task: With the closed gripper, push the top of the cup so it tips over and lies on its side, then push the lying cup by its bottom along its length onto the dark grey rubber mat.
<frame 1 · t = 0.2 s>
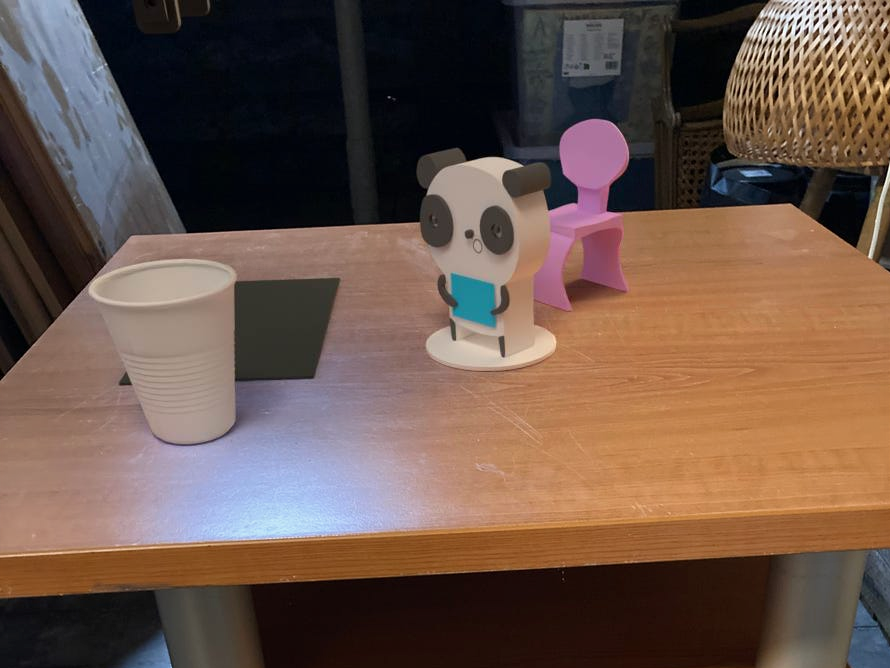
hand: (177, 24, 57), 26 cm above the table, tool pointing down, fingers open, 8 cm apart
toy chair: (574, 296, 97), on the table
mat: (242, 326, 92), on the table
cup: (195, 431, 75), on the table
panda figurine: (488, 347, 87), on the table
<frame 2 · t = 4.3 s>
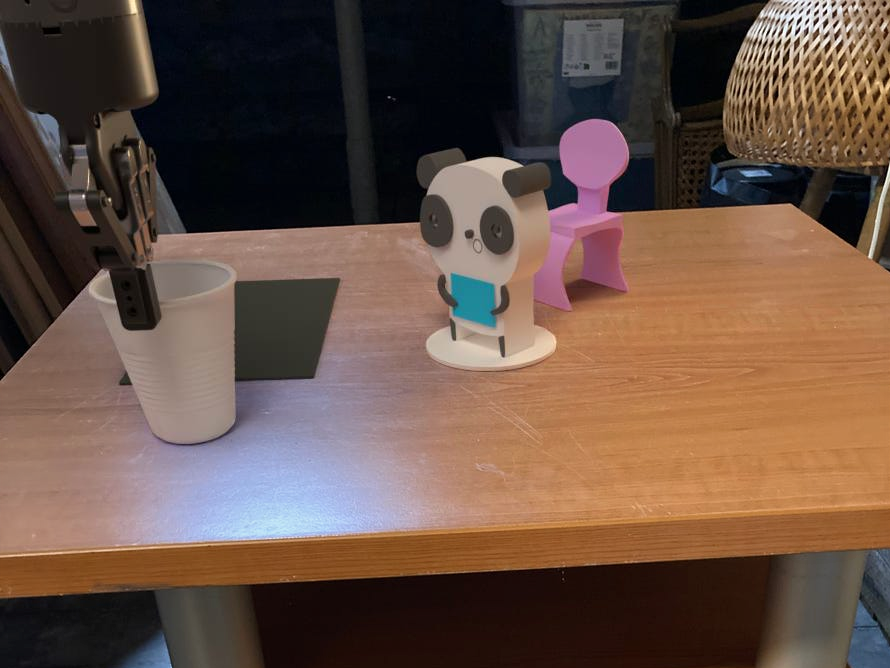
hand: (143, 326, 64), 10 cm above the table, tool pointing down, fingers closed
cup: (195, 430, 75), on the table, touching gripper
everything else where it was.
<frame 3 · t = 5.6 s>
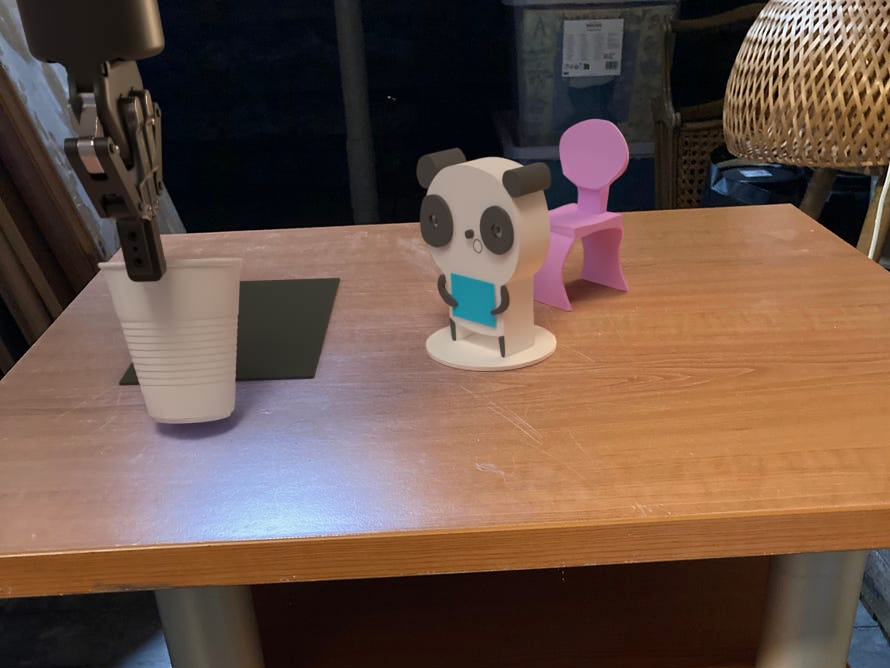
hand: (148, 278, 65), 12 cm above the table, tool pointing down, fingers closed
cup: (193, 420, 74), point 1 cm above the table
everything else where it was.
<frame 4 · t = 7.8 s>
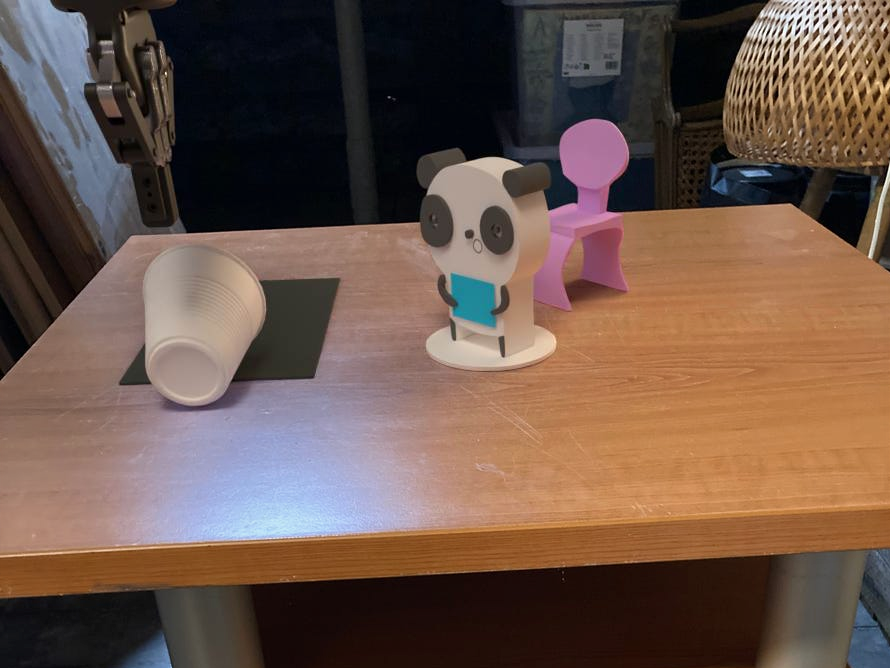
hand: (161, 224, 68), 14 cm above the table, tool pointing down, fingers closed
cup: (186, 376, 75), point 3 cm above the table, touching mat
everything else where it was.
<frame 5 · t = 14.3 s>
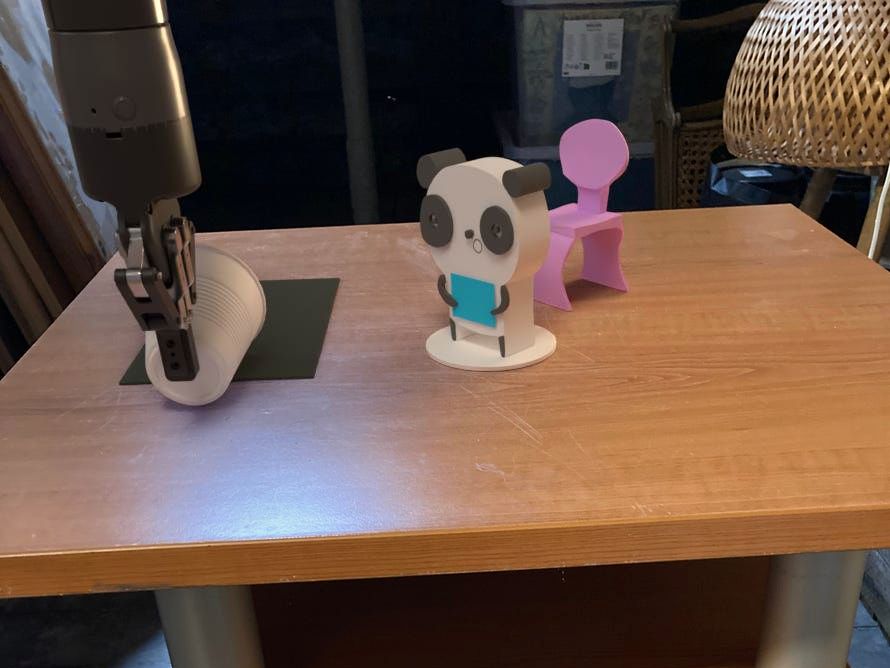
hand: (183, 377, 72), 4 cm above the table, tool pointing down, fingers closed
cup: (186, 375, 75), point 3 cm above the table, touching gripper
everything else where it was.
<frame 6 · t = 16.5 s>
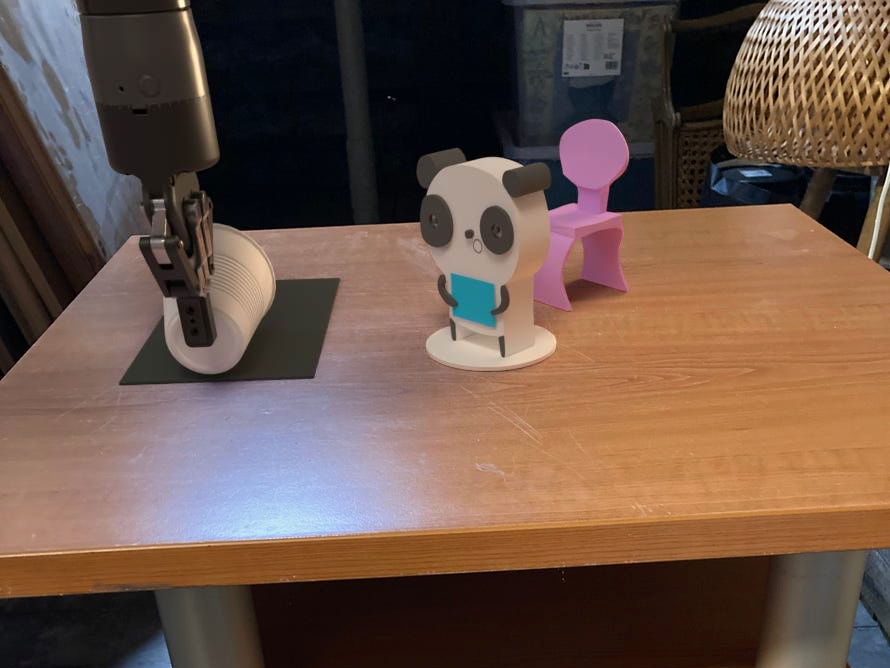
hand: (202, 343, 77), 4 cm above the table, tool pointing down, fingers closed
cup: (204, 344, 79), point 3 cm above the table, touching gripper, mat
everything else where it was.
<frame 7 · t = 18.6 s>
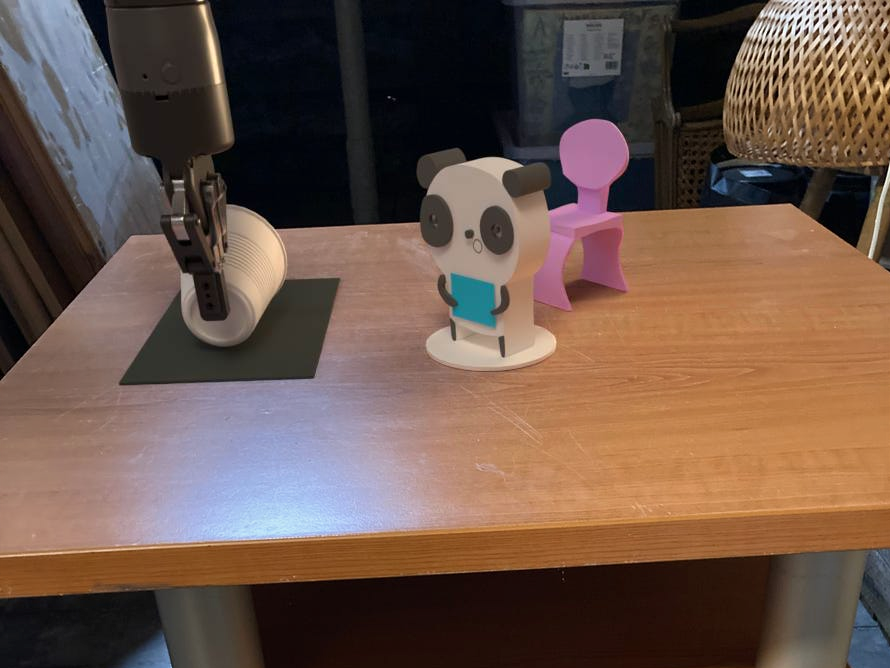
hand: (216, 317, 82), 4 cm above the table, tool pointing down, fingers closed
cup: (218, 317, 84), point 3 cm above the table, touching gripper, mat
everything else where it was.
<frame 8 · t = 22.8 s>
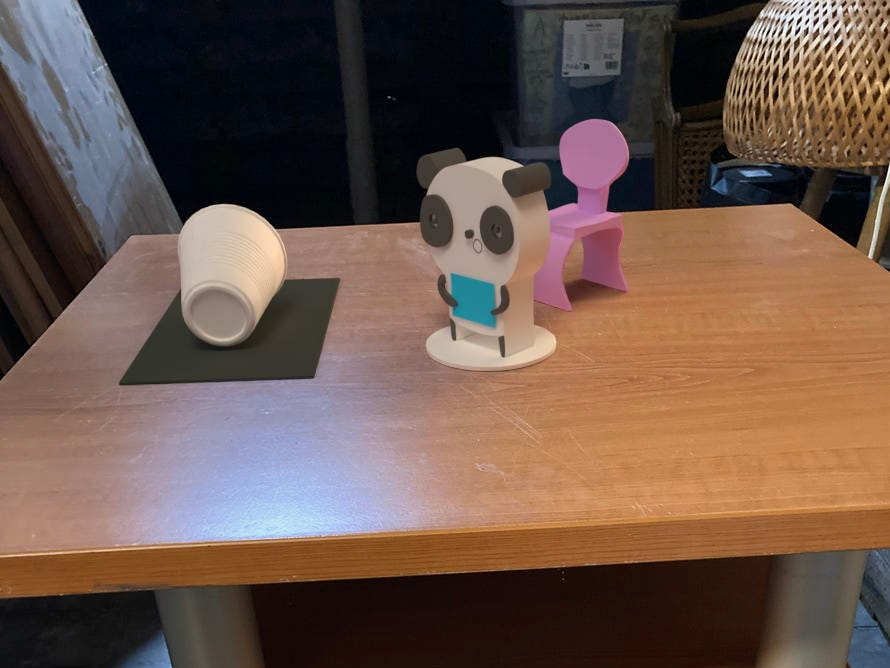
cup: (218, 317, 84), point 3 cm above the table, touching mat
everything else where it was.
at the end: cup tilted 81°; cup inside the target area on the mat (0.5 cm from its centre), point 3.4 cm above the mat's base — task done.
